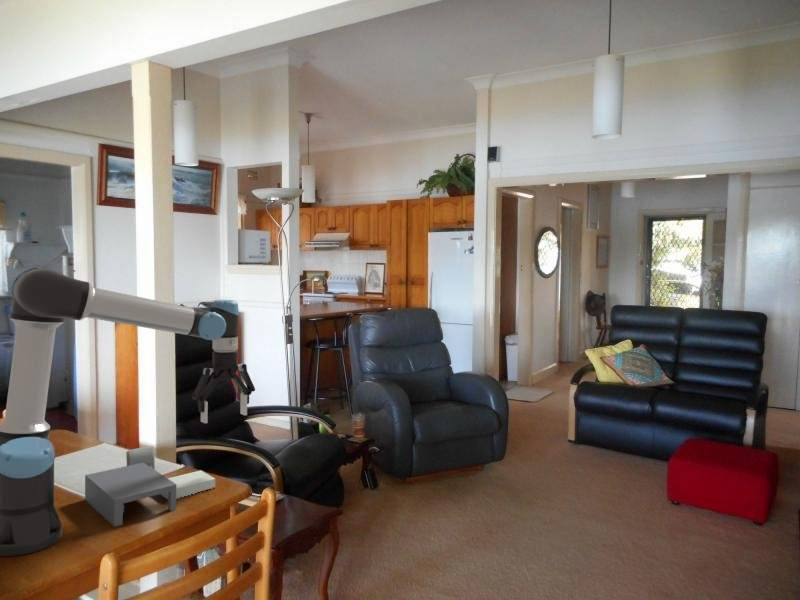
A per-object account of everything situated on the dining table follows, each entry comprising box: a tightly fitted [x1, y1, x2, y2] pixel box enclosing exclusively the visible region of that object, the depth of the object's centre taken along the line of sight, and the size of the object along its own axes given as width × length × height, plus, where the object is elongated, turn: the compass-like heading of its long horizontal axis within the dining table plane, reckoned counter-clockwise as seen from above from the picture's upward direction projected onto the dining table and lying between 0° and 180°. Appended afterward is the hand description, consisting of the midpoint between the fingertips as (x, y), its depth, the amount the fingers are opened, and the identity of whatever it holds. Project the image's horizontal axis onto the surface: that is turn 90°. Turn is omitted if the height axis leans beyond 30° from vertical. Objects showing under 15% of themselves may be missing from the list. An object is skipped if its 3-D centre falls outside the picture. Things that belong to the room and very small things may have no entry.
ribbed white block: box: [159, 469, 216, 501], centre depth 171 cm, size 14×9×3 cm, turn 136°
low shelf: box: [84, 463, 177, 528], centre depth 159 cm, size 16×22×7 cm
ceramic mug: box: [126, 445, 156, 471], centre depth 183 cm, size 11×8×8 cm
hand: (224, 418), depth 179 cm, fingers open, 13 cm apart
